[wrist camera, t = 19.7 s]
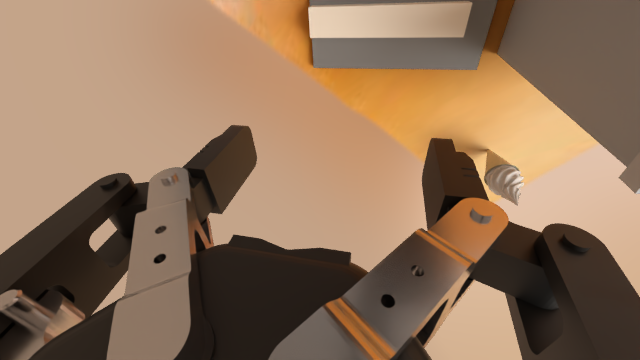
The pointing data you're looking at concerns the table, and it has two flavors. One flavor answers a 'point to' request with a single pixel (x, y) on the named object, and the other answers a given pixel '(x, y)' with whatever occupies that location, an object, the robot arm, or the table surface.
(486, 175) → the ice cream cone
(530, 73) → the pedestal
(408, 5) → the slat
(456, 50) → the mat
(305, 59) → the table surface
